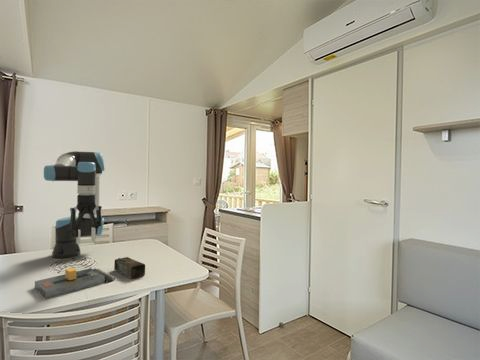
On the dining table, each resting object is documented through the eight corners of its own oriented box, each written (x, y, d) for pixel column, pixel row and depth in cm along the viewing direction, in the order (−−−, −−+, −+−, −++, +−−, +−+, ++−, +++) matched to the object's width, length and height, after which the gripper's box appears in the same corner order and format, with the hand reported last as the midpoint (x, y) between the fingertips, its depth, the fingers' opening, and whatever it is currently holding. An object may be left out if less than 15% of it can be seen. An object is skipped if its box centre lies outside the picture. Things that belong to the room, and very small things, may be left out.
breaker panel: (34, 287, 127) (34, 281, 126) (90, 274, 145) (90, 267, 145) (45, 299, 116) (45, 291, 116) (104, 282, 134) (104, 276, 134)
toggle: (65, 277, 131) (65, 269, 131) (72, 275, 133) (72, 267, 133) (69, 280, 128) (69, 271, 127) (76, 278, 130) (76, 270, 130)
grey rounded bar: (92, 273, 145) (92, 269, 145) (100, 271, 148) (100, 267, 148) (107, 282, 134) (107, 277, 134) (115, 280, 137) (115, 275, 137)
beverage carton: (127, 266, 157) (128, 255, 157) (145, 276, 145) (146, 263, 145) (113, 270, 152) (113, 258, 151) (131, 280, 139) (131, 267, 139)
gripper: (67, 195, 125) (66, 247, 125) (110, 193, 139) (109, 240, 140) (61, 194, 129) (60, 244, 130) (103, 192, 144) (102, 237, 145)
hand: (86, 242), depth 135 cm, fingers open, 6 cm apart
